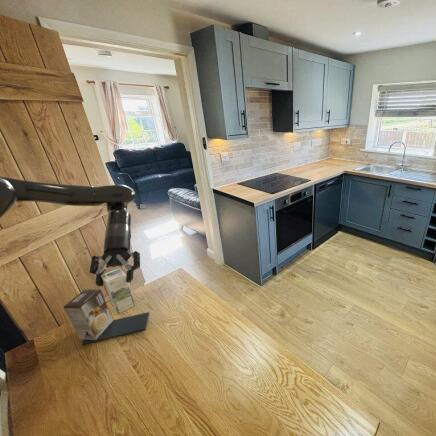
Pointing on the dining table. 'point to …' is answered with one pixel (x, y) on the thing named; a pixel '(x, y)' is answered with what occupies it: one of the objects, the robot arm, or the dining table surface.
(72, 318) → the coffee box
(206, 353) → the dining table surface
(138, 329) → the dark gray mat
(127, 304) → the syrup box
